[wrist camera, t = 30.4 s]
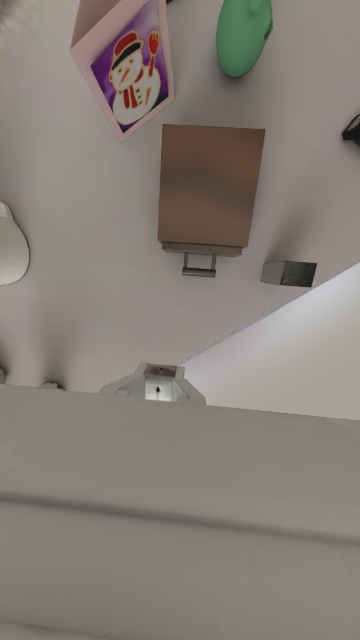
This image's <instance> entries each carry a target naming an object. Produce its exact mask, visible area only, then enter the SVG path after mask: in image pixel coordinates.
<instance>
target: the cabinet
mask: <svg viewBox="0 0 360 640" xmlns="http://www.w3.org/2000/svg"><path fill="white" fill-rule="evenodd" d="M264 136H265V129H250V128H230V127H210V126H190V125H170V124H163V128H162V152H161V176H160V199H159V223H158V241H159V242H160V243H162V242H176V243H190V244H204V245H218V246H232V247H242V249H243V248H246V247H247V246H248V240H249V233H250V227H251V220H252V214H253V207H254V201H255V194H256V188H257V181H258V175H259V168H260V162H261V155H262V149H263V142H264Z"/></svg>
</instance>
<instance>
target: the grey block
mask: <svg viewBox="0 0 360 640" xmlns="http://www.w3.org/2000/svg"><path fill="white" fill-rule="evenodd" d="M316 266H317V263H306V262H293V261H281V262H270V263H264V266H263V272H262V277H261V282H264V283H270V284H276V285H284V286H297V287H311V286H312V282H313V278H314V274H315V270H316Z"/></svg>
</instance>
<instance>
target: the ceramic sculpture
mask: <svg viewBox="0 0 360 640" xmlns="http://www.w3.org/2000/svg"><path fill="white" fill-rule="evenodd" d="M5 380H6V379H5V375H4V371H3V370H2V369H1V368H0V384H4V383H5Z"/></svg>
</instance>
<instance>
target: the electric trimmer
mask: <svg viewBox="0 0 360 640" xmlns="http://www.w3.org/2000/svg"><path fill="white" fill-rule="evenodd" d="M342 135H343V136H344V137H343V140H353V141H354V142H355V143H356V144H357V145H358V146H359V147H360V114H359V115H357V116H356V117H355V118H354V119H353V120H352V121H351V123H350V124H349V125H348V127H347V128H346V129H345V130H344V131H343V132H342Z"/></svg>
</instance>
